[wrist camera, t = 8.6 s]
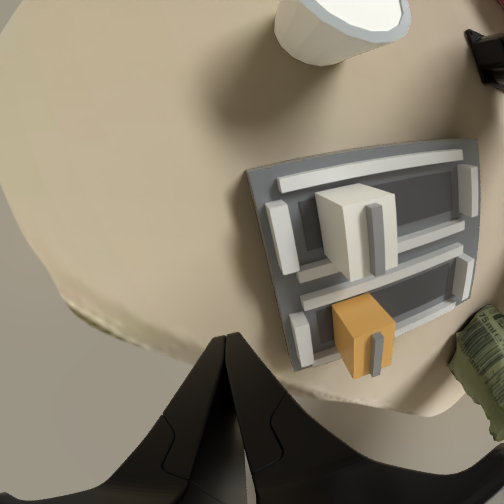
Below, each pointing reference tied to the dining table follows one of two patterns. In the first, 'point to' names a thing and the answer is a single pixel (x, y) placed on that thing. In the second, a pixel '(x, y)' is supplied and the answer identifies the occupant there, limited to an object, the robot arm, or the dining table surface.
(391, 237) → the fader
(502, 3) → the plant pot
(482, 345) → the pouch
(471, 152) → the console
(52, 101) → the dining table surface
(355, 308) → the fader
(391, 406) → the dining table surface
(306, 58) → the white tapered cup
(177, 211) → the dining table surface
